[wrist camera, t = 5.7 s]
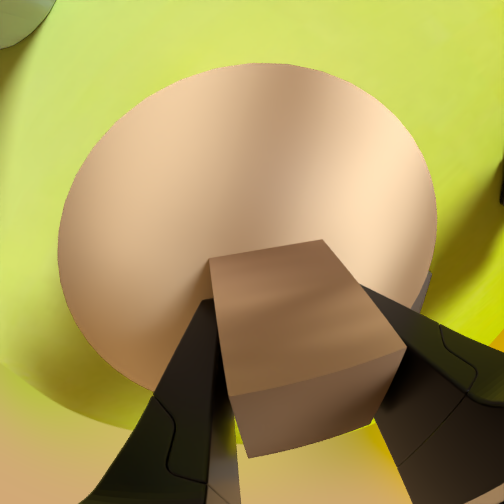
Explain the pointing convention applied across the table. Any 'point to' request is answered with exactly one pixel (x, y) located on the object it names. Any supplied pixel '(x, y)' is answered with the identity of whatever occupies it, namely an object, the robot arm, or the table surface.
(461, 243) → the table surface
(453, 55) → the table surface
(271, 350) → the lid
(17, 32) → the cup
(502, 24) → the table surface
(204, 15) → the table surface
